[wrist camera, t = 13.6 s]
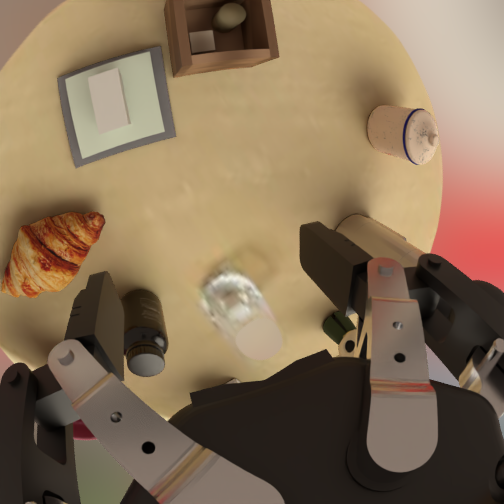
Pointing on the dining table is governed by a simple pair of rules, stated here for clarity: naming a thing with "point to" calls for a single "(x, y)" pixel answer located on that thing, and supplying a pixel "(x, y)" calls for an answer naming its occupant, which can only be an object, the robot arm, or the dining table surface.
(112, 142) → the lid
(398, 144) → the teacup with lid
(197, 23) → the walnut box
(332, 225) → the dining table surface
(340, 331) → the character mug
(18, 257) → the croissant
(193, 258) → the dining table surface
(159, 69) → the rubber pad
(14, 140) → the dining table surface
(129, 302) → the supplement bottle
